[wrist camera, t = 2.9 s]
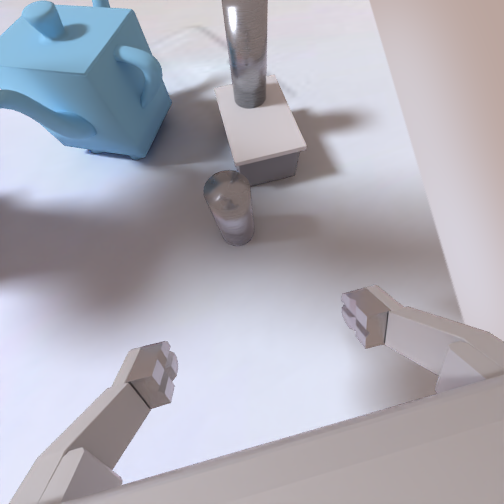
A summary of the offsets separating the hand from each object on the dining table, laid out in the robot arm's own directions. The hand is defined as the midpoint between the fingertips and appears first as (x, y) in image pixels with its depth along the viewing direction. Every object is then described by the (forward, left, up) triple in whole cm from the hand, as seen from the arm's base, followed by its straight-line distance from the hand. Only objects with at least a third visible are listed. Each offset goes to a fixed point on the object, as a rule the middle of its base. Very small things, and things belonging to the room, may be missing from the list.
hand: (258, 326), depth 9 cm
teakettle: (-38, +5, -15) cm, 42 cm away
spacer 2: (-10, +6, -15) cm, 19 cm away
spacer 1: (-21, +20, -9) cm, 31 cm away
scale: (-18, +18, -15) cm, 30 cm away
